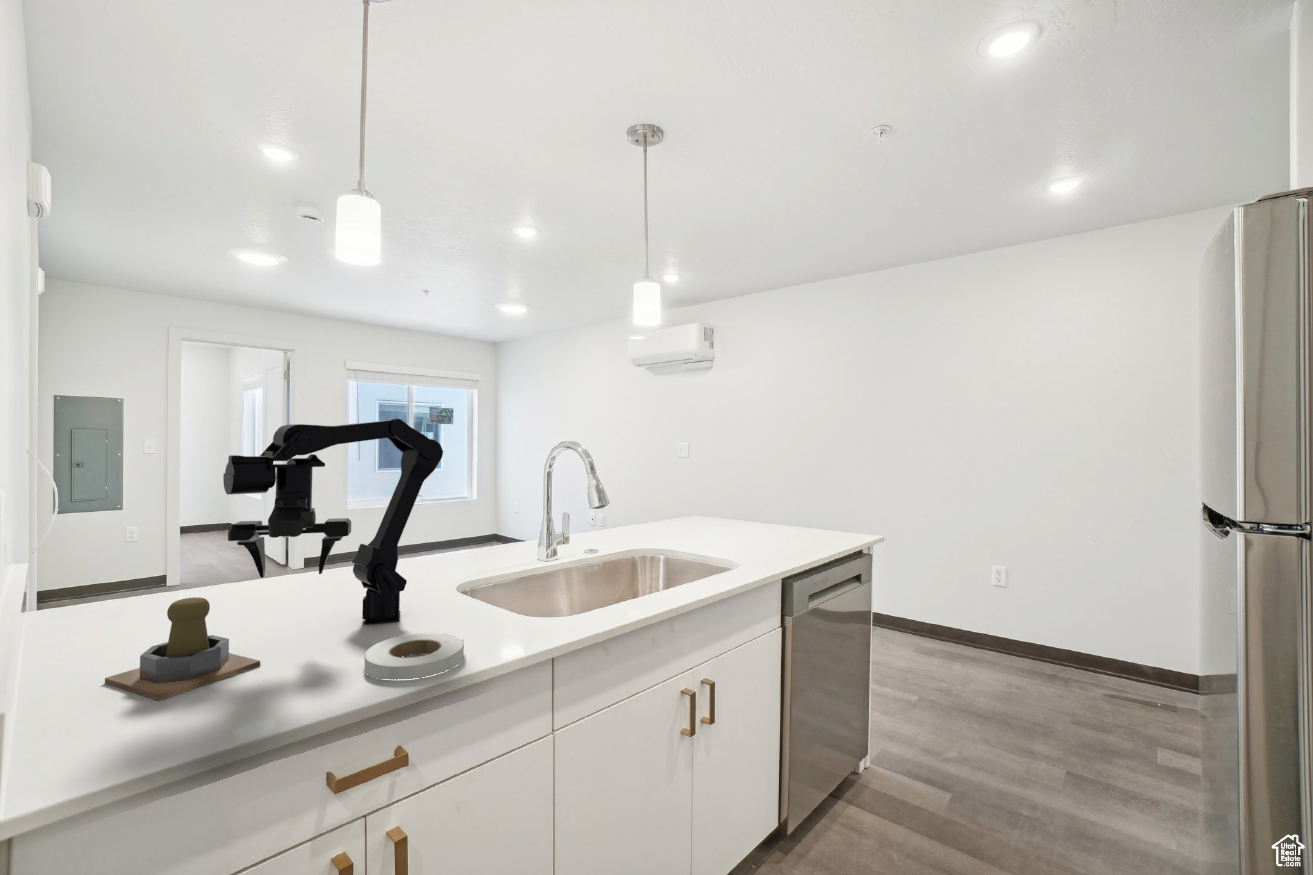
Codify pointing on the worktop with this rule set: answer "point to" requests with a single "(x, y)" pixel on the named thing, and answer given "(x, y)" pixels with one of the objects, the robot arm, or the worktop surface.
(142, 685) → the walnut plate
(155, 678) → the metal collar
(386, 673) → the roll of tape
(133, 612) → the worktop surface
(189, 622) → the cork
